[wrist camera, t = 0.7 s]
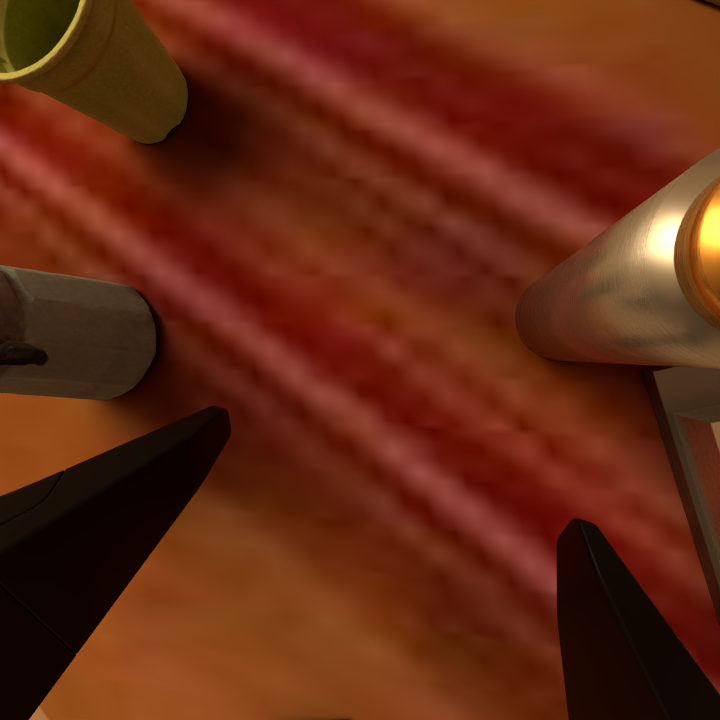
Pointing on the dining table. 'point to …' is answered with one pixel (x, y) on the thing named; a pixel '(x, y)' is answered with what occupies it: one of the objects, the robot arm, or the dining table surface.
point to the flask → (714, 2)
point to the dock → (693, 453)
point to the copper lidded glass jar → (638, 285)
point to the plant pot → (94, 63)
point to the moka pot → (71, 335)
